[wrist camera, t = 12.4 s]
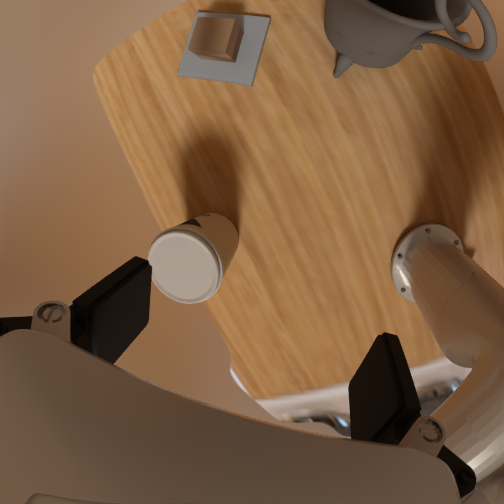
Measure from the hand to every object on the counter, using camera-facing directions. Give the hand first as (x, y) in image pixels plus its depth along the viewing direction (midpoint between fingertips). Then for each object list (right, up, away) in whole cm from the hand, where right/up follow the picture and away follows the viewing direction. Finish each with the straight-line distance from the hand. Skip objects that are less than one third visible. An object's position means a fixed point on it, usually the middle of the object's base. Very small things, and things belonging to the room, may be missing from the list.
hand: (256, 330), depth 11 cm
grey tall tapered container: (+16, +31, +18) cm, 40 cm away
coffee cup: (-6, +5, +32) cm, 33 cm away
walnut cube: (-4, +31, +21) cm, 38 cm away
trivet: (-4, +32, +22) cm, 39 cm away
